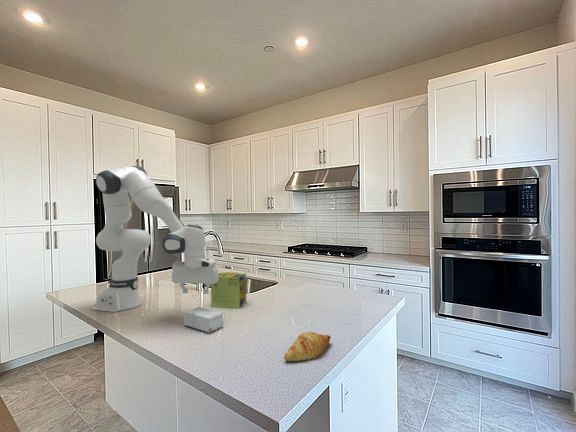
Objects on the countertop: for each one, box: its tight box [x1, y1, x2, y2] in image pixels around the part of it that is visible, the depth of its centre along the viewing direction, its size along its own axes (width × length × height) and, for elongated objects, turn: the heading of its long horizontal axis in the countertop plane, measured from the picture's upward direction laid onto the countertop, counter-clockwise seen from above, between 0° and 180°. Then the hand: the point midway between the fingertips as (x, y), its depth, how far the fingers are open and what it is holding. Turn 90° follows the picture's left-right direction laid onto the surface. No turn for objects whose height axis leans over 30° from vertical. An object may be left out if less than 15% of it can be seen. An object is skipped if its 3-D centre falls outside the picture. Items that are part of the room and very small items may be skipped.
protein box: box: [210, 271, 247, 309], centre depth 154 cm, size 10×15×16 cm
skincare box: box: [183, 306, 224, 333], centre depth 125 cm, size 8×6×15 cm
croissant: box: [283, 331, 331, 362], centre depth 102 cm, size 21×10×8 cm, turn 132°
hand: (195, 293), depth 132 cm, fingers open, 8 cm apart
